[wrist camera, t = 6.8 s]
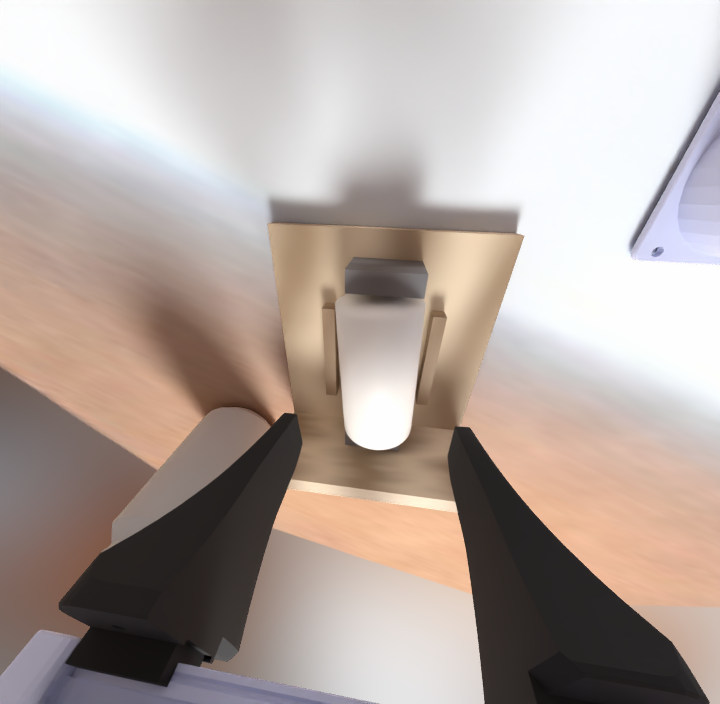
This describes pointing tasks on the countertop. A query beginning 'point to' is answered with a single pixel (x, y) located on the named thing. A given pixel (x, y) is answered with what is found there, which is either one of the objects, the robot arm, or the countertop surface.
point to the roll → (378, 366)
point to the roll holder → (437, 353)
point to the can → (191, 467)
